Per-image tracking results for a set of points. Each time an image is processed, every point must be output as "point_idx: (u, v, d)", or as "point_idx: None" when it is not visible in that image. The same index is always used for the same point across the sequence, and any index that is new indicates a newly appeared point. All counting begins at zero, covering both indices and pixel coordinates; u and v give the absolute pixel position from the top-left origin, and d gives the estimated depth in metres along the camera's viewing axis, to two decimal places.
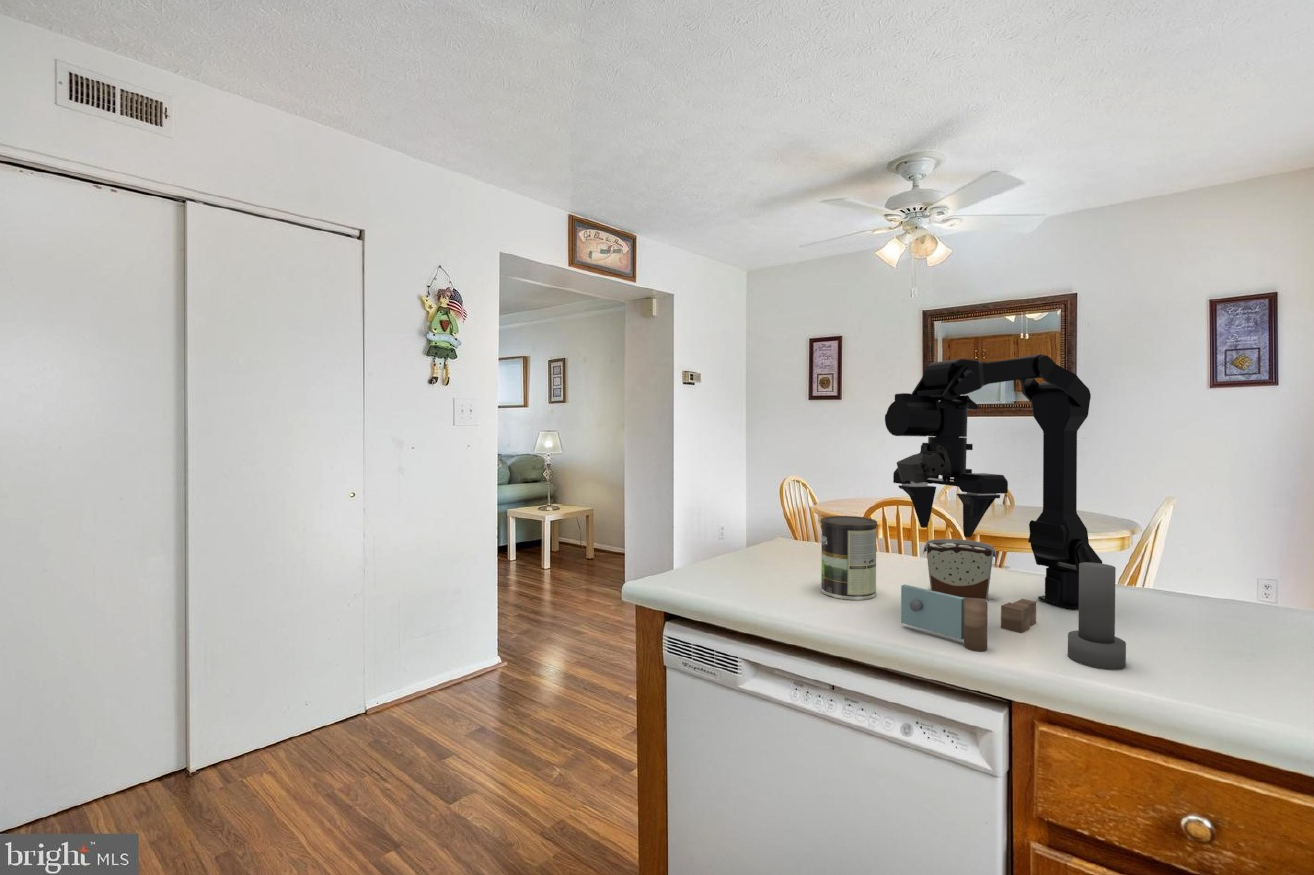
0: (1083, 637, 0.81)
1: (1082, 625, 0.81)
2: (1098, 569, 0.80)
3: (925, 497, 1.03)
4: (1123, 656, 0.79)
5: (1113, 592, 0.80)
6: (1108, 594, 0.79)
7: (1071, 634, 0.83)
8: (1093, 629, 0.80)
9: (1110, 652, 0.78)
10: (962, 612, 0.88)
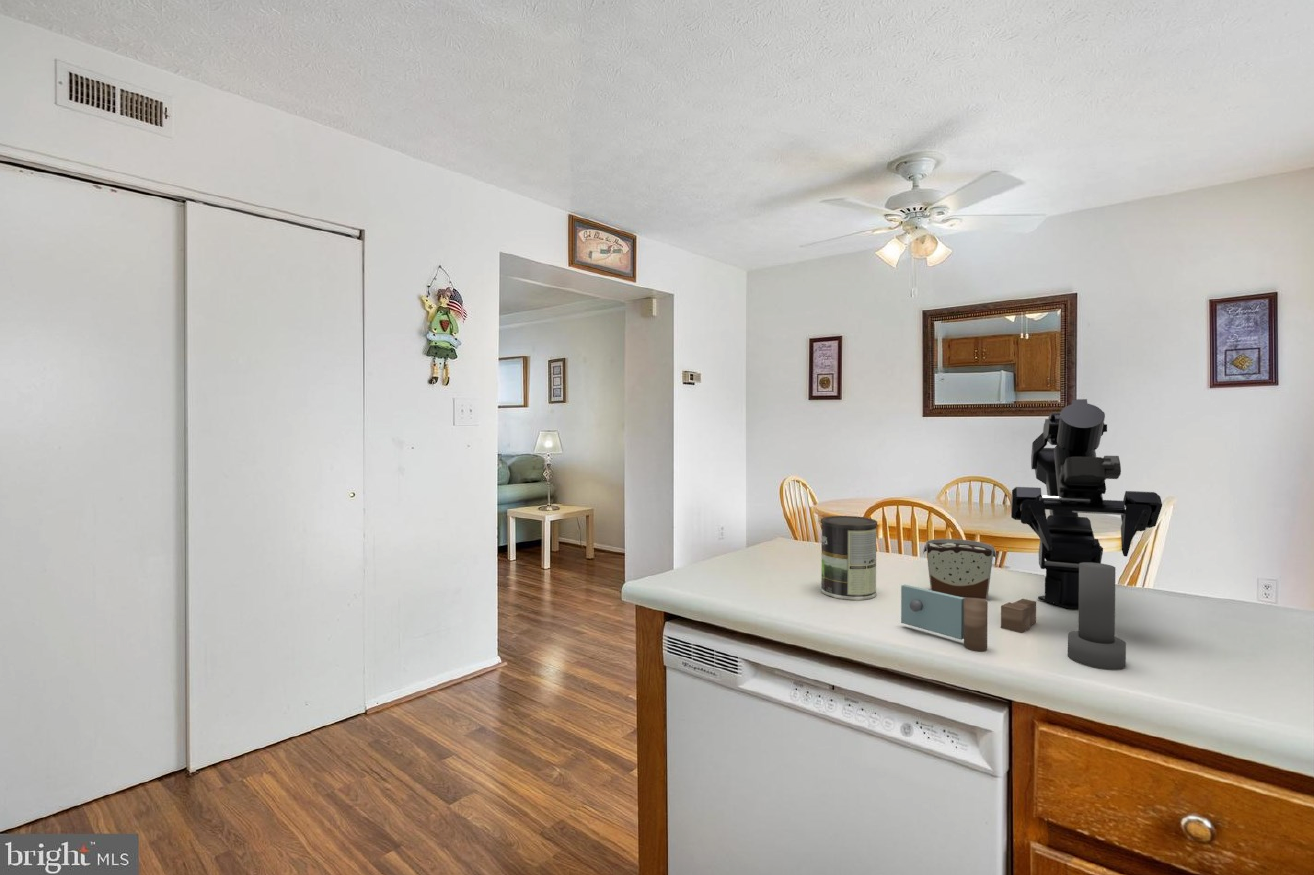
0: (1083, 637, 0.81)
1: (1082, 625, 0.81)
2: (1098, 569, 0.80)
3: None
4: (1123, 656, 0.79)
5: (1113, 592, 0.80)
6: (1108, 594, 0.79)
7: (1071, 634, 0.83)
8: (1093, 629, 0.80)
9: (1110, 652, 0.78)
10: (962, 612, 0.88)
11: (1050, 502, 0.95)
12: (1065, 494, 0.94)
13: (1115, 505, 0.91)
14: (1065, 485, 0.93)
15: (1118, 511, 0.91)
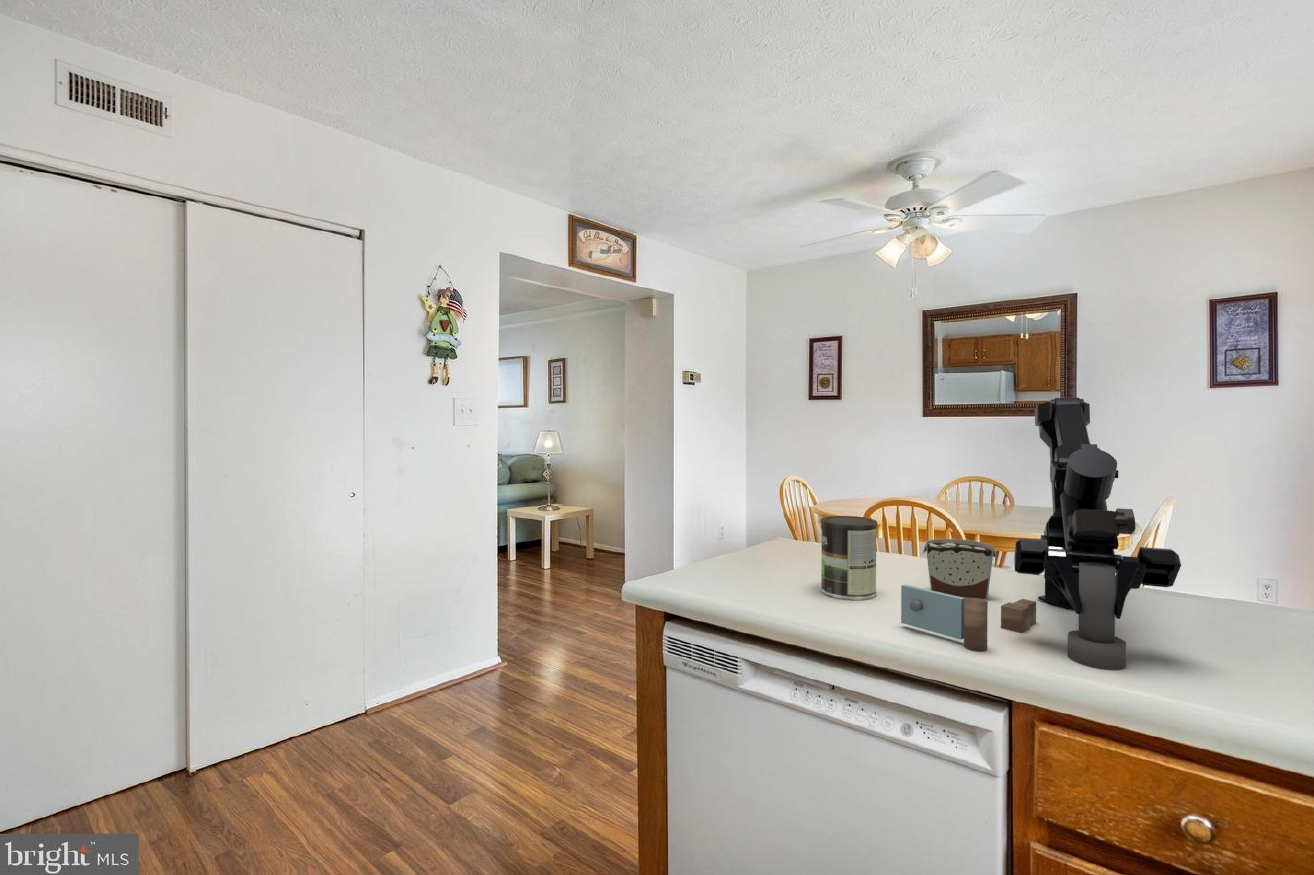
0: (1083, 637, 0.81)
1: (1082, 625, 0.81)
2: (1098, 569, 0.80)
3: None
4: (1123, 656, 0.79)
5: (1113, 592, 0.80)
6: (1108, 594, 0.79)
7: (1071, 633, 0.83)
8: (1093, 629, 0.80)
9: (1110, 652, 0.78)
10: (962, 612, 0.88)
11: None
12: (1074, 548, 0.86)
13: (1128, 562, 0.83)
14: (1074, 539, 0.85)
15: None
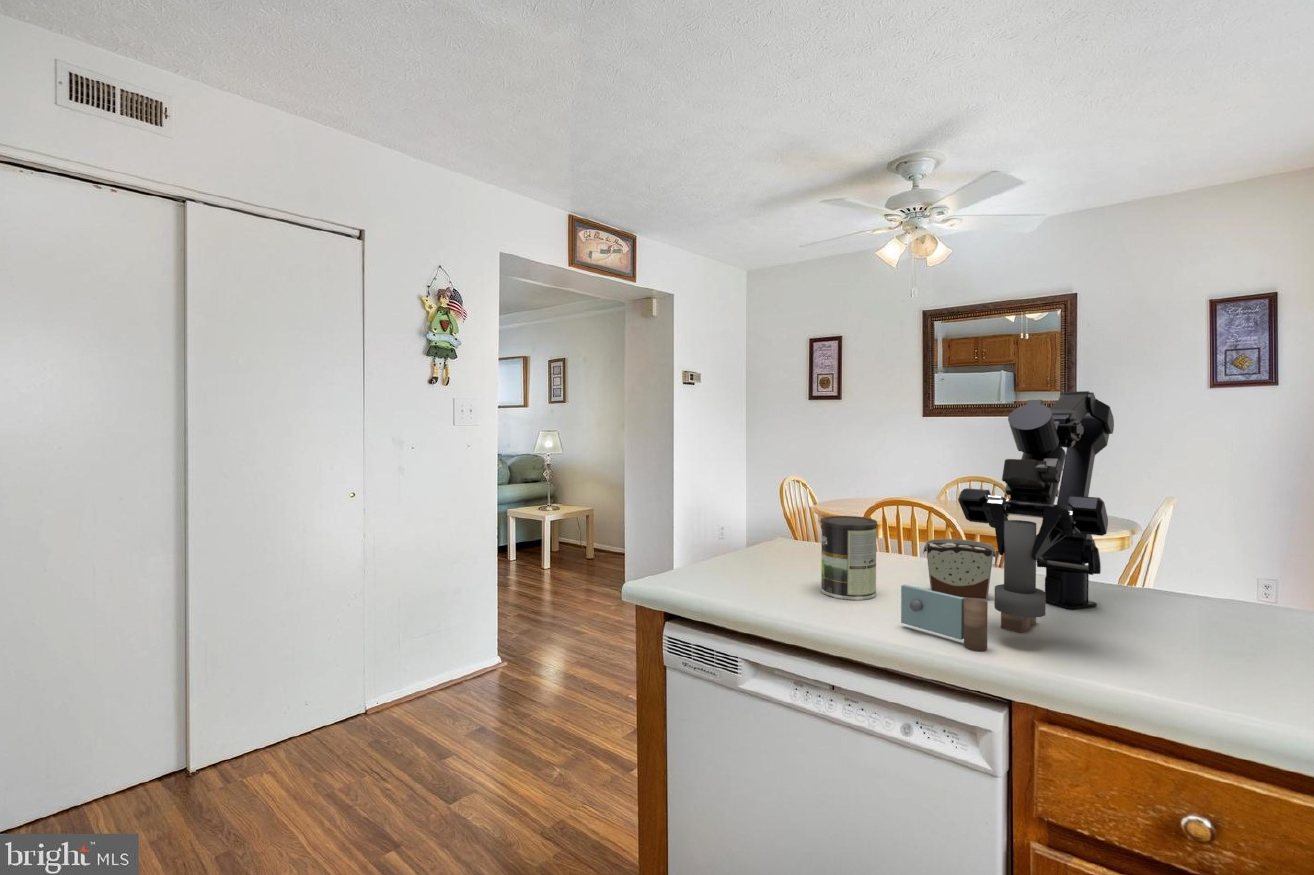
0: (1004, 587, 0.88)
1: (1004, 576, 0.88)
2: (1015, 524, 0.86)
3: None
4: (1037, 606, 0.85)
5: (1030, 546, 0.86)
6: (1024, 548, 0.86)
7: (1000, 585, 0.90)
8: (1011, 580, 0.87)
9: (1021, 601, 0.85)
10: (962, 612, 0.88)
11: None
12: (1012, 497, 0.92)
13: None
14: (1010, 488, 0.91)
15: None
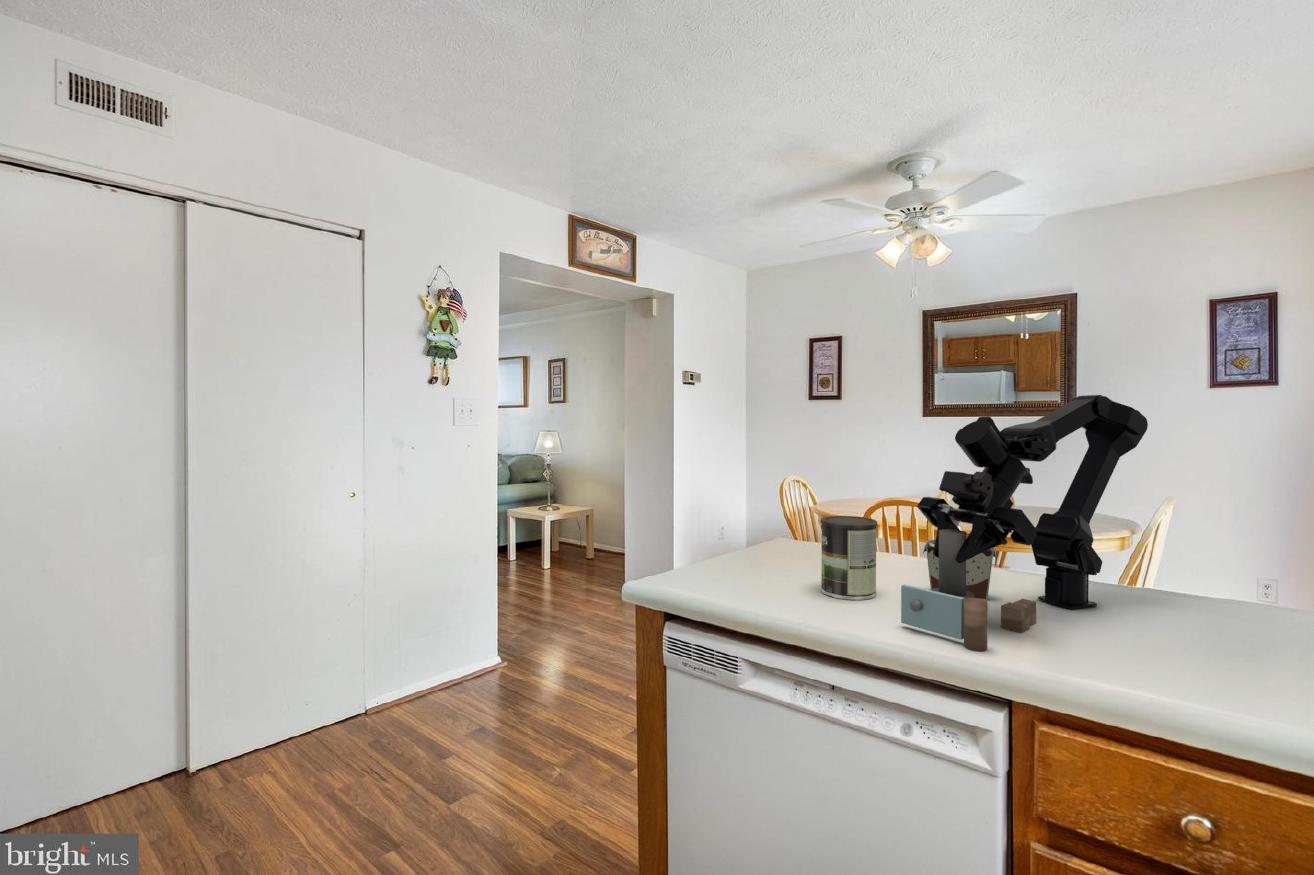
0: (938, 589, 0.98)
1: None
2: (942, 532, 0.96)
3: None
4: None
5: (955, 553, 0.95)
6: (949, 554, 0.95)
7: None
8: (940, 582, 0.97)
9: None
10: (962, 612, 0.88)
11: None
12: (960, 506, 1.00)
13: (995, 520, 0.94)
14: (956, 497, 1.00)
15: None
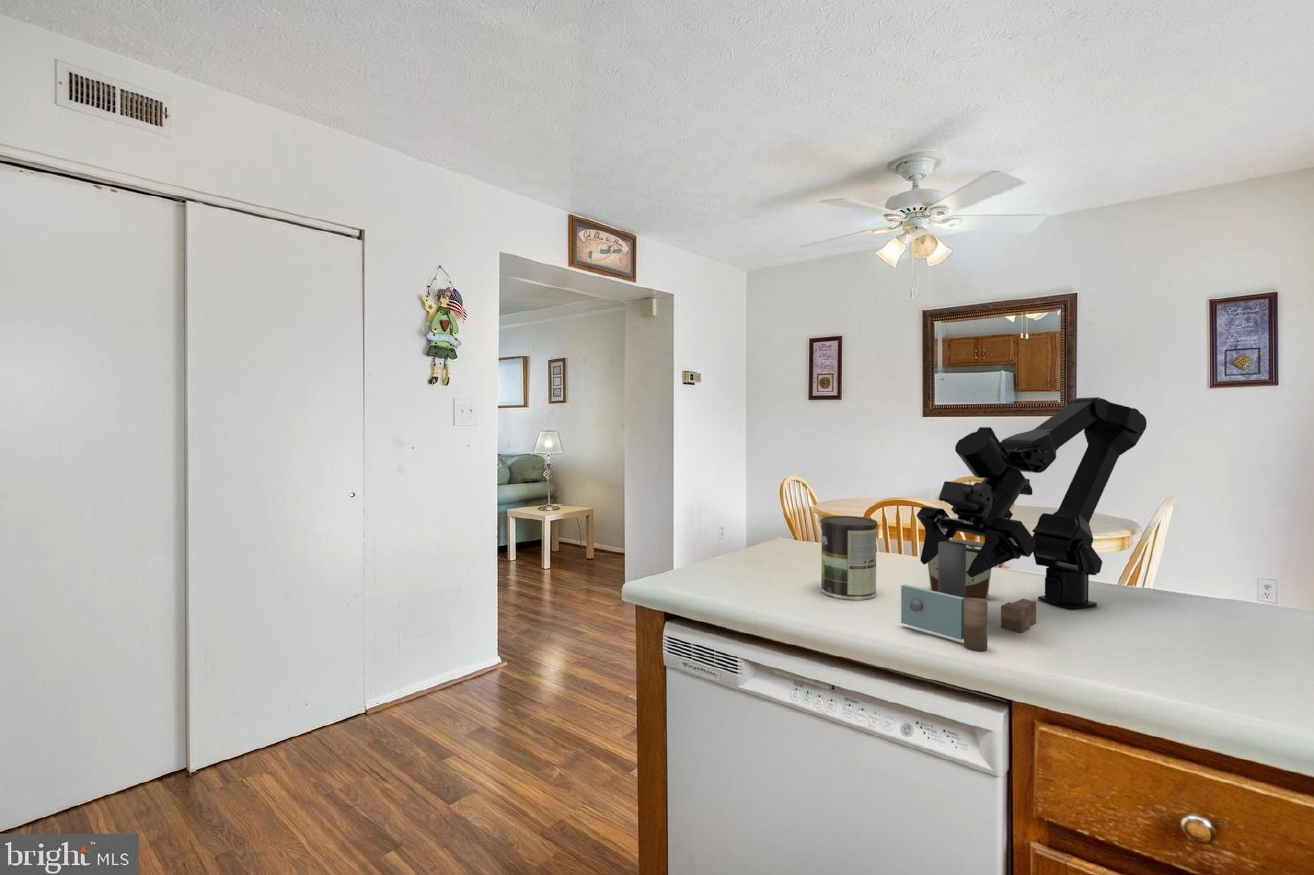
0: None
1: None
2: (942, 545, 0.96)
3: (938, 540, 1.02)
4: None
5: (955, 566, 0.95)
6: (949, 567, 0.95)
7: None
8: None
9: None
10: (962, 612, 0.88)
11: (950, 523, 1.02)
12: (959, 516, 1.00)
13: (994, 531, 0.94)
14: (955, 508, 1.00)
15: None
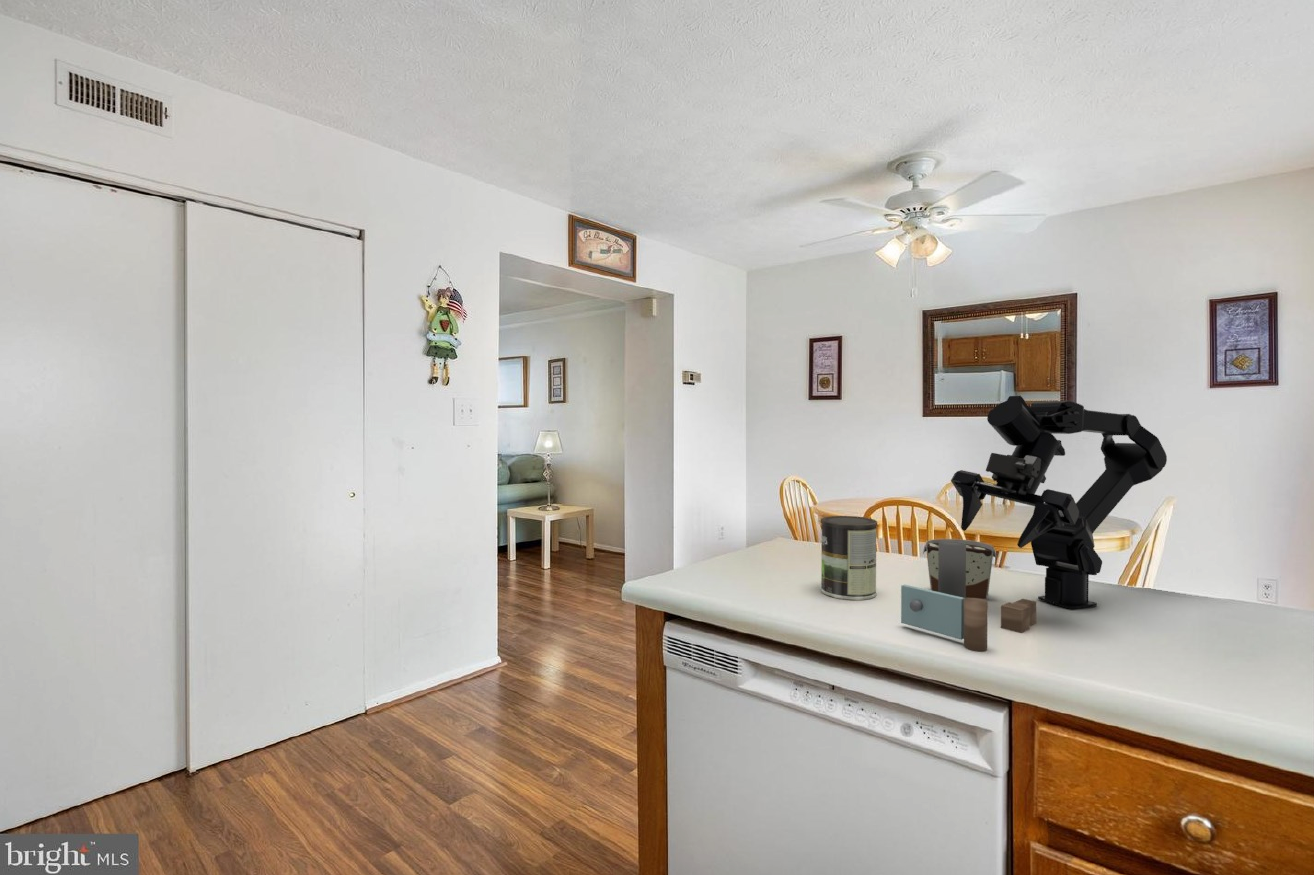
0: None
1: None
2: (942, 545, 0.96)
3: (975, 505, 1.05)
4: None
5: (955, 566, 0.95)
6: (949, 567, 0.95)
7: None
8: None
9: None
10: (962, 612, 0.88)
11: (986, 488, 1.04)
12: (998, 483, 1.02)
13: (1038, 500, 0.97)
14: (996, 476, 1.02)
15: None
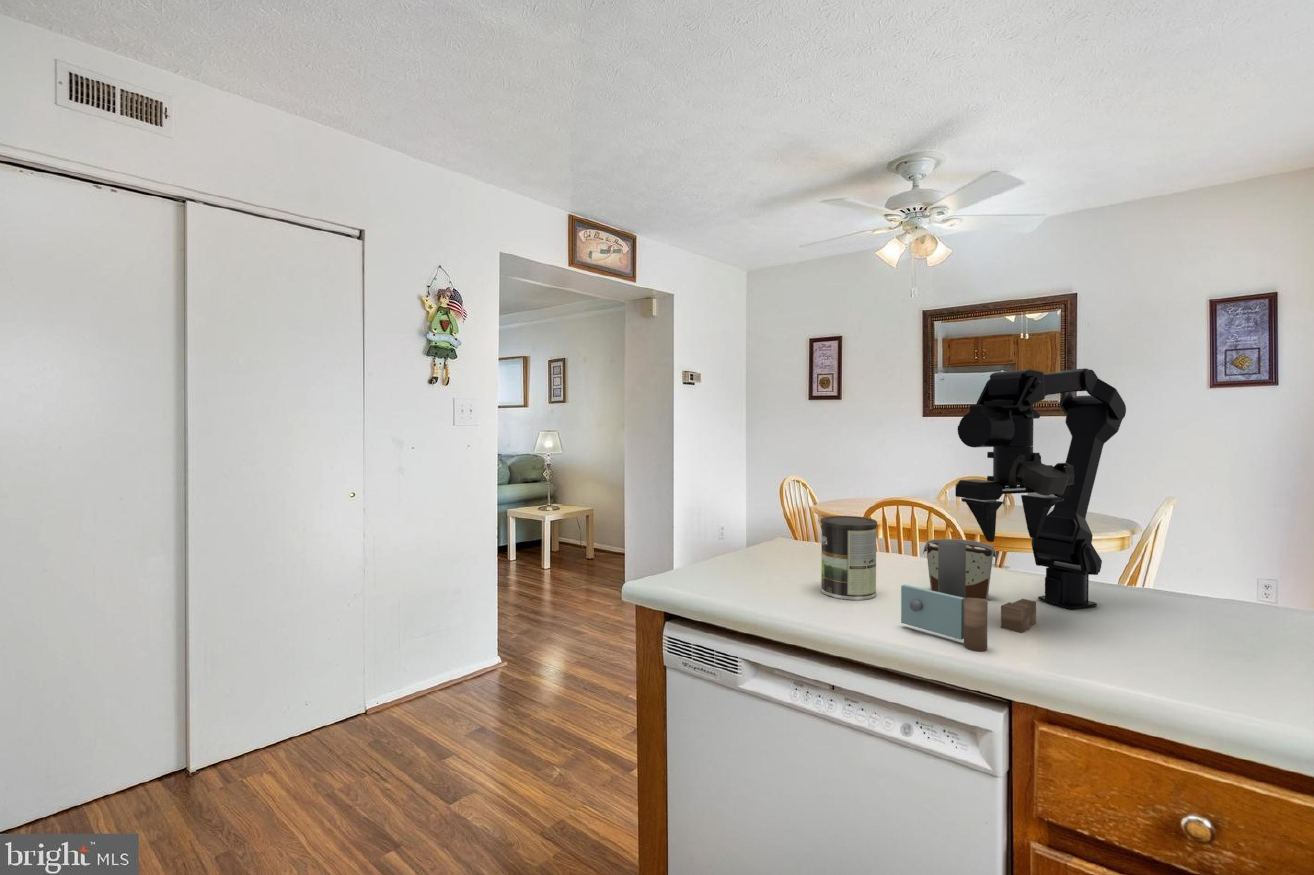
0: None
1: None
2: (942, 545, 0.96)
3: None
4: None
5: (955, 566, 0.95)
6: (949, 567, 0.95)
7: None
8: None
9: None
10: (962, 612, 0.88)
11: None
12: (1010, 485, 0.97)
13: None
14: (1018, 482, 0.95)
15: None
